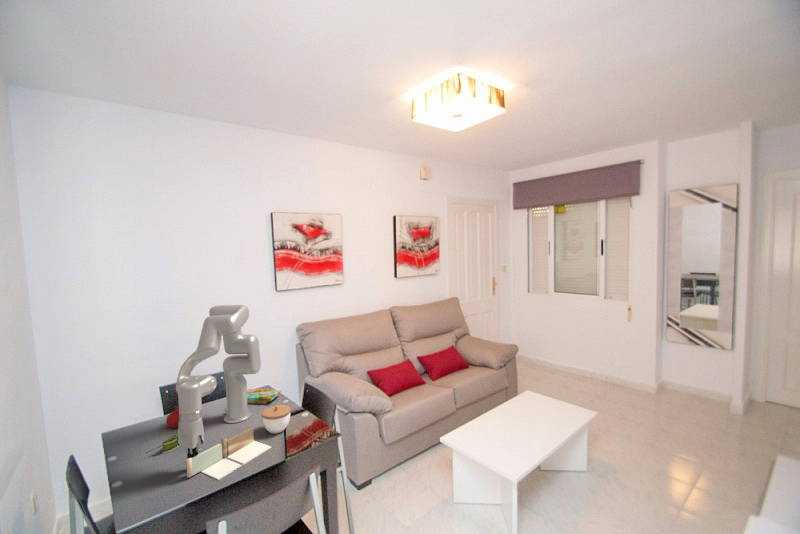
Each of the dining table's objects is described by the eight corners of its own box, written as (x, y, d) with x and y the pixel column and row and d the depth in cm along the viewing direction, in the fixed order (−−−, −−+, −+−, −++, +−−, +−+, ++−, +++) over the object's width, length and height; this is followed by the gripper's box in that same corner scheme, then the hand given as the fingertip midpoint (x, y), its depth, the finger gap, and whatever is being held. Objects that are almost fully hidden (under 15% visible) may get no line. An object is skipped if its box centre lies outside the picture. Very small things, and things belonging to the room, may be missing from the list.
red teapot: (170, 432, 164) (168, 413, 163) (163, 425, 171) (162, 407, 170) (193, 424, 172) (192, 405, 171) (186, 417, 178) (184, 400, 177)
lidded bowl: (295, 423, 169) (294, 401, 169) (284, 437, 157) (283, 412, 156) (270, 422, 171) (269, 400, 170) (257, 436, 158) (256, 412, 158)
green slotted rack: (197, 429, 155) (183, 420, 159) (150, 451, 138) (136, 441, 143) (195, 444, 156) (182, 434, 160) (149, 467, 139) (136, 456, 144)
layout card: (186, 465, 137) (186, 464, 137) (240, 436, 158) (240, 435, 158) (218, 480, 127) (218, 478, 127) (271, 447, 148) (271, 446, 148)
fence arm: (186, 476, 129) (185, 459, 129) (220, 457, 141) (219, 442, 140) (188, 477, 128) (188, 460, 128) (222, 458, 140) (222, 443, 140)
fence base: (221, 457, 141) (220, 439, 141) (251, 440, 154) (250, 423, 153) (224, 458, 140) (223, 440, 140) (254, 441, 153) (253, 424, 152)
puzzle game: (248, 388, 205) (281, 388, 203) (249, 396, 205) (281, 396, 203) (237, 396, 194) (271, 397, 191) (237, 404, 194) (271, 405, 191)
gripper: (169, 415, 134) (171, 462, 135) (192, 423, 127) (194, 472, 128) (189, 407, 141) (191, 452, 142) (212, 415, 134) (214, 462, 134)
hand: (193, 461), depth 135 cm, fingers closed
